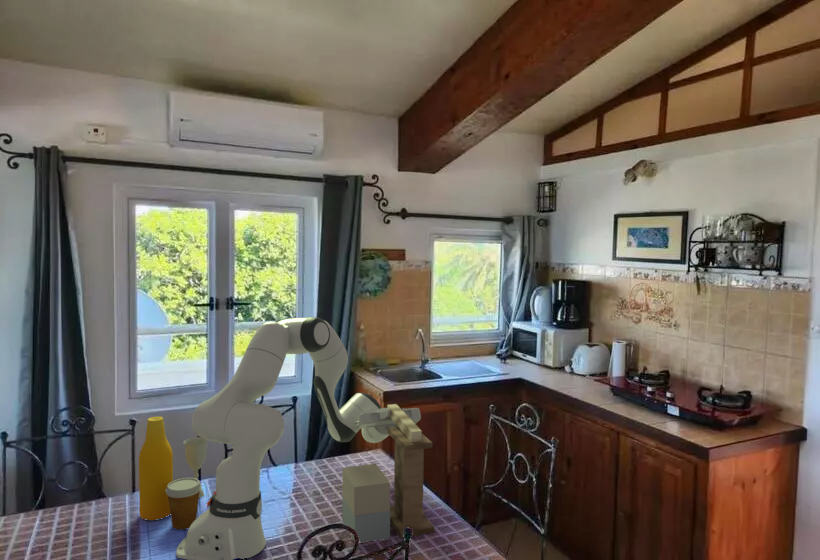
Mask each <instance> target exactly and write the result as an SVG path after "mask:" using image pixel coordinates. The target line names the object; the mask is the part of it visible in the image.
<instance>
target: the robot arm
mask: <svg viewBox="0 0 820 560" xmlns="http://www.w3.org/2000/svg"><path fill="white" fill-rule="evenodd" d="M337 333H338V332H336V330H335V329H334V327H332V326H331V324H330V323H329V322H328V321H326V320H324V319H323V318H320V317H317V316H316V317H315V316H309V317H291V318H290V317H289V318H286V319H281V320H275V321H267V322H264V323H262V324H261V325H260V326H259V327H258V329H257V330H256V332H255V333H254V335H253V336H252V338H251V340H250V341H249V343H248V345H247V347H246V349H245V352H244V354H243V356H242V358H241V360H240V363H239V365H238V367H237V369H236V371H235V373H234V375H233V376H232V378H231V379H230V380H229V382H228V383H227V384H225V386H224V387H223V388H222V389H221V390H220V391H218V392H217V393H216V394H214V396H212V397H211V398H209V399H207V400H204V401H202V402H201V403H200V404H198V406H197V407H196V408H195V410H194V411H193V414H192V418H191V427H192V431H193V433H194V434H195V435H196V436H198V437H202V438H204V439H207V440H208V441H210V442H213V443H220V444H227V445H231V446H232V454H231V455H230V456H228V457H227V458H225V459H223V460H222V461H221V462H220V463H219V465H218V466H217V468H216V470H215V471H216V472H215V491H214V492H213V495H212V496H210V498H209V500H208V501H207V502H206V508H207V510H206V511H204V512H202V514H200V515H199V516H198V517H196V520H195V521H194V522H193V523H192V524H191V526H190V527H189V528H188V529H187V531H186V532H187V533H186V536H185V538H183V539H182V540H181V542H180V543H179V544H178V546H177V547H176V552H175V556H176V558H178V559H183V560H233V559H235V558H242V559H243V560H245V559H244V558H247V559H249V558H252V557H254V556H256V555H257V554H259V553H261V551H263V550H264V548H265V547H266V544H267V540H266V536H265V534H264V530H263V524H262V517H261V515H262V511H263V510H262V508H263V507H262V506H263V504H262V503H263V502H262V491H261V490H260V486H261V485H260V483H261V482H260V480H261V479H260V478H261V466H262V462H263V459H264V457H265V455H266V453H267V452H268V450H270V449H271V448H272V447H274V446H275V445H276V444H278V442H279V440H280V439H281V438H282V436H283V433H284V429H285V421H284V417H283V414H282V413H281V412H280V410H278V409H276V408H274V407H271V406H268V405H265V404H261V403H254V402H255V401H256V400H258V399H259V398H261V397H263V396H265V395H268V394H269V393H270V392H272V390H273V389H274V388H275V386H276V385H277V384H276V383H277V382H278V381H277V380H278V377H279V375H280V374H281V370H282V368H283V365H284V362H285V359H286V355H301V354H302V355H303V354H307V353H308V355H309V356H310V358H311V360H312V362H313V365H314V378H313V385H314V391H315V392H316V396H317V399H318V401H319V404H320V407H321V410H322V412H323V416H324V418H325V423H326V427H327V431H328V433H329V434H330V436H331V437H332V438H333V439H334V440H335V441H336V442H337V443H338V442H339V443H347V442H351V441H352V439H353V438H355V436H356V434H357V433H358V432H359V431H360V430H361V435H362V437H363V439H364V440H365V442H367V443H371V444H376V443H380V442H382V441H384V440H385V439H386V438H387V437H390V435H389V434H388V433H387V428H391V427H398V426H397V425H396V424H395V423H394V422H393V420H392V419H391V418H390V416H391V415H392V414H391V410H387V407H382V406H381V404H380V403H379V402H378V400H377V399H376V398H374V396H373V395H371V394H369V393H365V392H356V393H355V394H354V395H353V396H351V398H350V399H349V400H348V401H347V402H346V403H345V404H344V405H343V406H341V408H339V407H338V403H337V401H336V399H335V398H336V397H335V391H336V386H337V384H338V383H339V381H340V379H341V377H342V376H343V374H344V372H345V371H346V369H347V366H348V362H349V356H348V351H347V349H346V347H345V345H344V344H343V342H342V340H341V338H340V337H339V335H338V334H337ZM401 410H402V411H403V412H404V413H405V414H406V415H407V416H408V417H409V418H410V419H411V420H412V421H413V422H414V423H415V424H416V425H417V423H418V422H419V421H420V420H421V418H422V416H421V411H420V408H419V407H413V408H401Z"/></svg>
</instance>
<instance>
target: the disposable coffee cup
mask: <svg viewBox="0 0 820 560" xmlns="http://www.w3.org/2000/svg"><path fill="white" fill-rule="evenodd" d="M200 489H202V484H201V482H200V480H199V478H198V479H196V478H194V477H183V478H181V477H180V478H177V479H173V481H172V482H170V483H169V484H168V486H167V489H166V493H167V495H168V501H169V508H170V514H171V515H170V520H171V527H172V526H173V527H172V529H174V528H176V529H184V530H187V529H186V528H188V529H189V527H190V526H191V524H192V523H193V522H194V521H195V520H196V519H197V518H198V517H197V516H198V507H199V501H200V500H199V492H200ZM176 529H175V530H176Z"/></svg>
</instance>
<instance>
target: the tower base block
mask: <svg viewBox="0 0 820 560" xmlns="http://www.w3.org/2000/svg"><path fill="white" fill-rule="evenodd" d="M341 498H342V505H341V506H342V507H341V508H342V509H341V510H342V511H341V514H342V516H341V518H342V520H341V521H342V523H343V525H344V526H345V525H347V526H349V527H351V528H353V529H354V530H355V531H356V532H357V533H358V536H359V539H360V542H361V543H362V542H366V541H374V540H379V541H381V540H380V539H384V540H390V539H391V523H390V511H385V512H378V513H372V514H366V515H359V516H354V515H353V513H352V511H351V509H350V507H349V505H348V504H347V502H346V500H345V498H344V496H343V494H342V497H341ZM351 537H352V539H351V540H354V536H353V534H352V535H351ZM351 537H350V538H351ZM374 542H375V541H374Z"/></svg>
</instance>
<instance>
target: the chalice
mask: <svg viewBox="0 0 820 560" xmlns="http://www.w3.org/2000/svg"><path fill="white" fill-rule="evenodd" d="M208 441H209V440H207V439H204V438H202V437H200V436H198V437H190V438H187V439H185V440H183V444H184V446H185V451H184V452H185V453H184V454H185V456H184V457H185V460H186V463H188V466H189V467H190V469H191V470H193V471H194V474H193V478H196V479H198V480H199V476H200V475H199V470H200V469H201V468H202V467H203V464H204V462H205V460H206V457H207V443H208ZM204 494H205V493H204V490H203V488H201V489H200V492H199V498H200V497H202V496H204ZM204 497H205V496H204ZM202 498H203V497H202ZM200 499H201V498H200Z"/></svg>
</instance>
